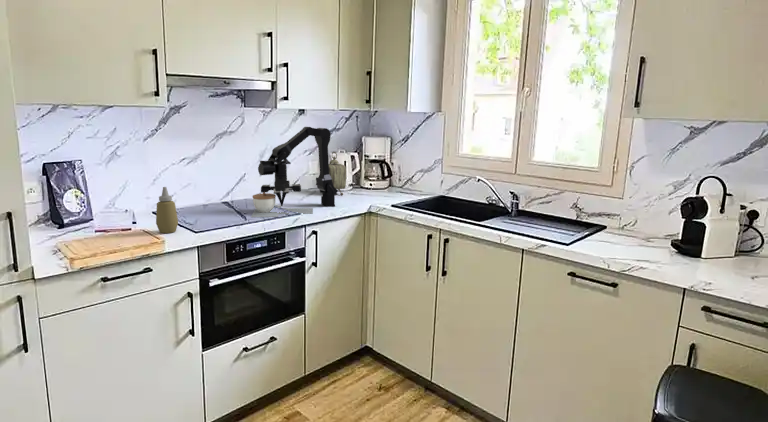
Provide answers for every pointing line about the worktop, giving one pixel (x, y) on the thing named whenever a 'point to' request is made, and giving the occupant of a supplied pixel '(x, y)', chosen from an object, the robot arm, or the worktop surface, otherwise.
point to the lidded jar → (264, 202)
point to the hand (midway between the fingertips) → (281, 205)
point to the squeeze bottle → (166, 213)
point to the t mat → (275, 214)
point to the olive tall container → (337, 174)
